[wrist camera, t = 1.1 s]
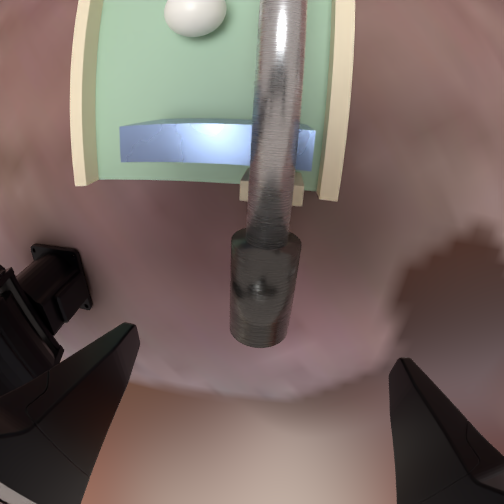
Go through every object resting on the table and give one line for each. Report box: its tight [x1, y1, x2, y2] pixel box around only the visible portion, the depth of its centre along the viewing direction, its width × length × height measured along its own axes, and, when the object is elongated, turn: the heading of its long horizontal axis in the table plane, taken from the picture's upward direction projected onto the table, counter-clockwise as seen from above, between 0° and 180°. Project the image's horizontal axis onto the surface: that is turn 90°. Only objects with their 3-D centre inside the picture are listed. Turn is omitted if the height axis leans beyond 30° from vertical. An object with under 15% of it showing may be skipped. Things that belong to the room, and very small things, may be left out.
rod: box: [119, 0, 316, 348], centre depth 11 cm, size 8×24×6 cm, turn 177°
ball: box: [164, 0, 227, 37], centre depth 11 cm, size 3×3×3 cm
